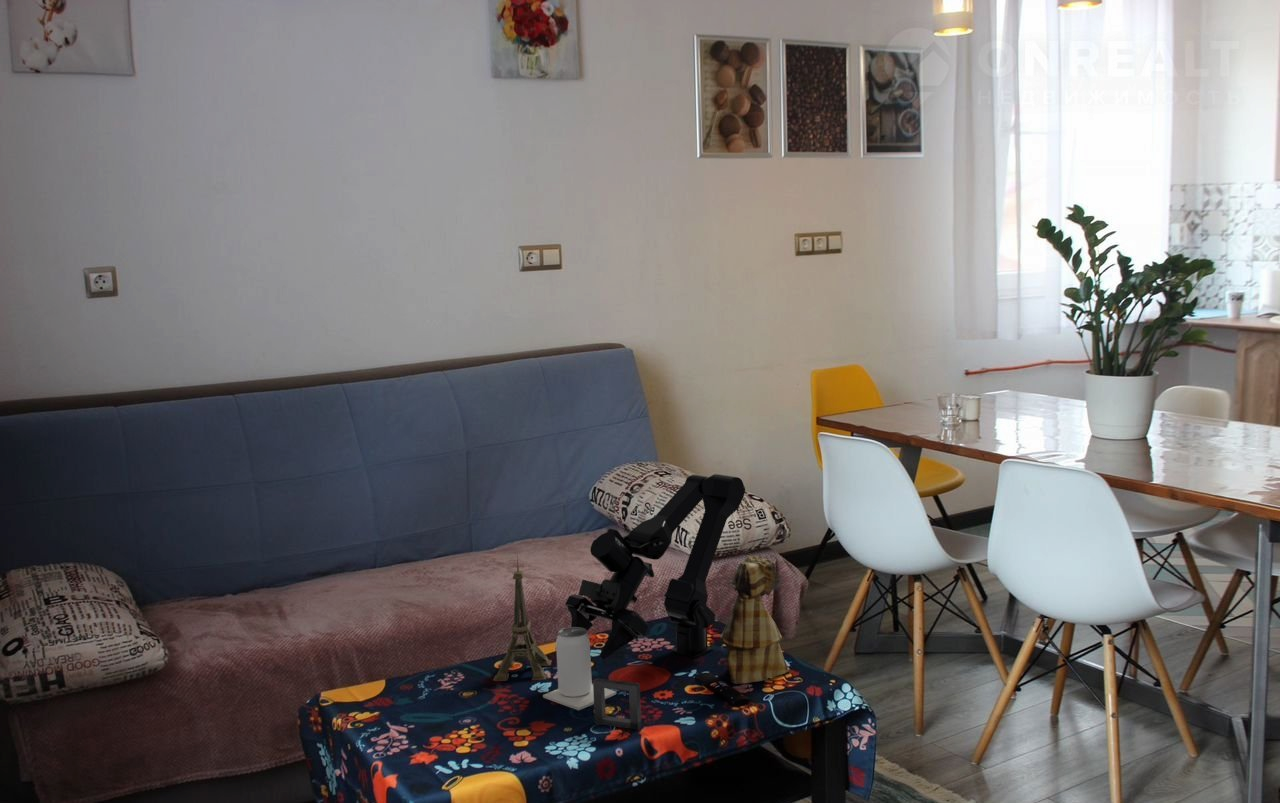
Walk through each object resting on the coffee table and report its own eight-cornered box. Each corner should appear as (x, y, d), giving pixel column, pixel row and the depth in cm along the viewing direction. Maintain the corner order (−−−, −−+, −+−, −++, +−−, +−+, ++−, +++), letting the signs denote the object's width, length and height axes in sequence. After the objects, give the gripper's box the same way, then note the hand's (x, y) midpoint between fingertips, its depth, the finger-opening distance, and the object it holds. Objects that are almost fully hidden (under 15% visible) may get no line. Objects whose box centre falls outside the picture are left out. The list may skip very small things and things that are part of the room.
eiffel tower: (501, 662, 240) (495, 546, 237) (551, 661, 240) (546, 545, 237) (493, 681, 230) (486, 560, 227) (545, 680, 229) (539, 558, 226)
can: (598, 688, 222) (595, 628, 221) (579, 700, 217) (577, 639, 215) (570, 683, 226) (568, 624, 224) (551, 694, 220) (549, 634, 219)
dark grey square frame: (598, 720, 208) (596, 678, 207) (641, 726, 205) (639, 683, 204) (594, 723, 207) (593, 681, 206) (638, 729, 204) (636, 686, 203)
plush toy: (697, 662, 233) (712, 550, 226) (752, 650, 240) (768, 541, 233) (736, 697, 222) (754, 582, 214) (792, 684, 229) (811, 571, 221)
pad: (580, 682, 227) (580, 679, 227) (616, 694, 220) (616, 691, 220) (543, 697, 220) (542, 695, 220) (578, 710, 213) (578, 707, 213)
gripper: (569, 555, 229) (529, 622, 222) (634, 571, 215) (594, 643, 209) (600, 583, 235) (562, 650, 229) (665, 601, 222) (627, 672, 216)
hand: (585, 653), depth 221 cm, fingers open, 9 cm apart
